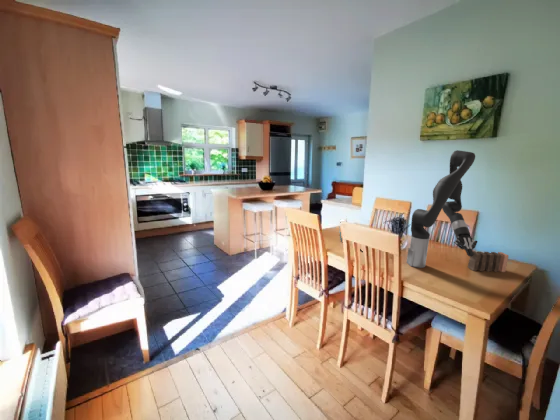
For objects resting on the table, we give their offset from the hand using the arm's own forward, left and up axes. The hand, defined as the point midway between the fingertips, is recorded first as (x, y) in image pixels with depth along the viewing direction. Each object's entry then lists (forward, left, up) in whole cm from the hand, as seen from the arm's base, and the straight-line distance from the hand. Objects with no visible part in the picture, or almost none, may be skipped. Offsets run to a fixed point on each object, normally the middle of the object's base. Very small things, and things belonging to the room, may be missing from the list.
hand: (471, 255), depth 151 cm
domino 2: (+7, +1, -8) cm, 11 cm away
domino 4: (+15, +1, -8) cm, 17 cm away
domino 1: (+3, +1, -8) cm, 9 cm away
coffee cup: (-61, +47, -9) cm, 78 cm away
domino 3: (+11, +1, -8) cm, 14 cm away
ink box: (-59, +63, -9) cm, 87 cm away
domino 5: (+19, +1, -8) cm, 20 cm away
